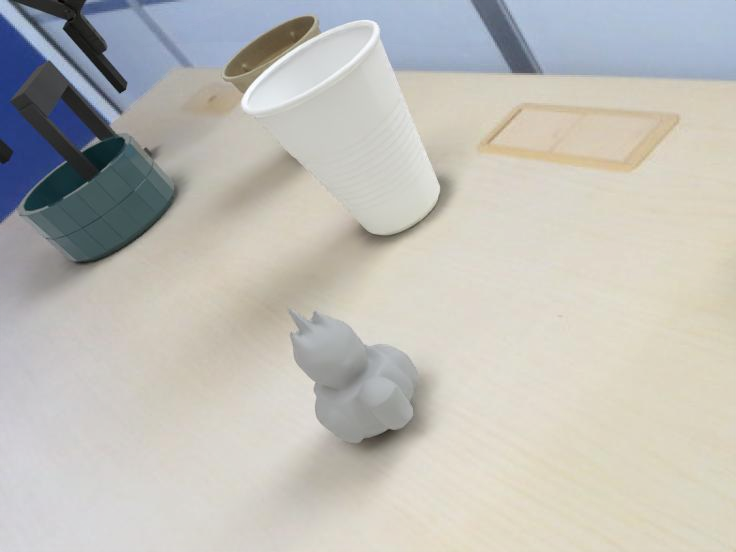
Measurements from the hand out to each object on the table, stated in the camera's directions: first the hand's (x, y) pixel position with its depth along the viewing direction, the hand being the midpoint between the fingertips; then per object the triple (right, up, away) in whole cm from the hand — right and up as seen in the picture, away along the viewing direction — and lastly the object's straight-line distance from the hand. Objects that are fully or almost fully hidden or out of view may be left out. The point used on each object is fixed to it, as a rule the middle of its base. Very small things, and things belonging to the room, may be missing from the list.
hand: (66, 123), depth 75 cm
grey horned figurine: (+43, -32, -36) cm, 64 cm away
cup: (+40, -16, -21) cm, 48 cm away
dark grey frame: (+3, -5, +4) cm, 8 cm away
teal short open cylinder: (+6, -10, 0) cm, 12 cm away
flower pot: (+30, -4, -7) cm, 31 cm away
